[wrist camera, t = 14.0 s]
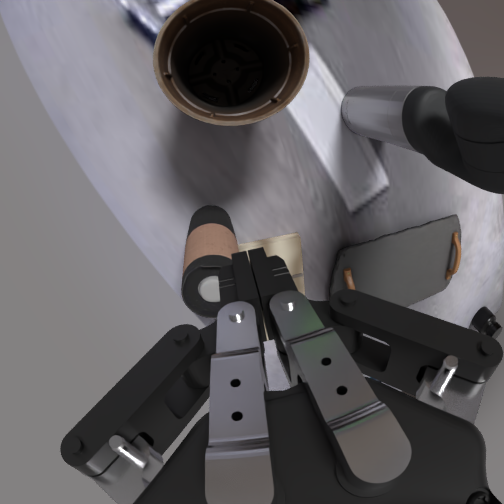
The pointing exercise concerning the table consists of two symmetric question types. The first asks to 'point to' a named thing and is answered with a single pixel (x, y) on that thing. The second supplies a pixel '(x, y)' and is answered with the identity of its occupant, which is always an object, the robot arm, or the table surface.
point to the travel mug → (207, 259)
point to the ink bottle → (486, 323)
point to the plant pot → (231, 59)
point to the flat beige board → (282, 255)
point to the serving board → (402, 263)
